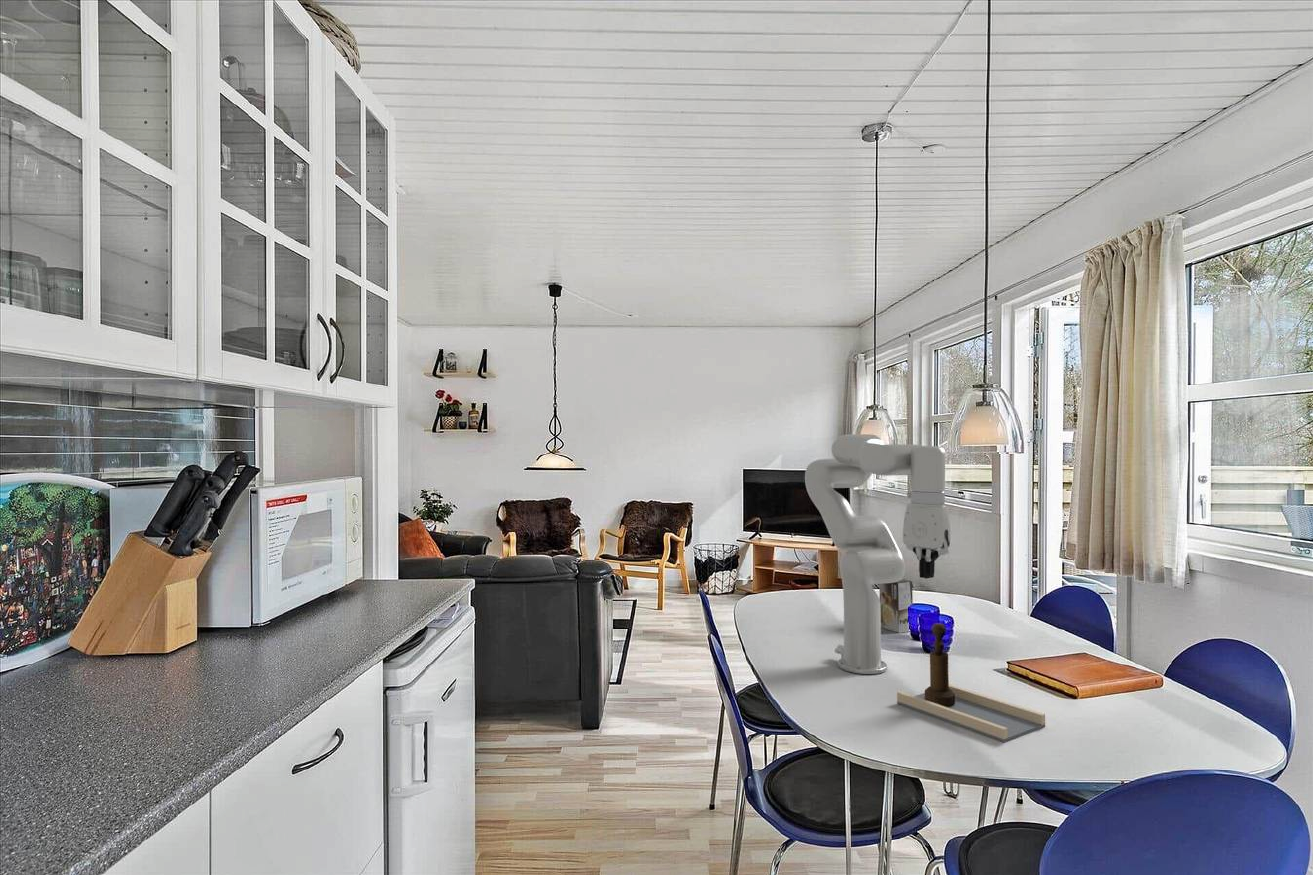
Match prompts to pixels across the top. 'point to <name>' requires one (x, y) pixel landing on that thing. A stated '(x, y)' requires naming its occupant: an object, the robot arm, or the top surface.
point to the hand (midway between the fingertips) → (926, 577)
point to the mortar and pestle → (939, 672)
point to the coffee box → (895, 605)
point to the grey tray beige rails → (979, 714)
